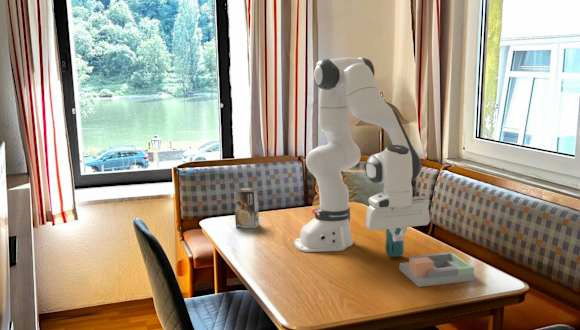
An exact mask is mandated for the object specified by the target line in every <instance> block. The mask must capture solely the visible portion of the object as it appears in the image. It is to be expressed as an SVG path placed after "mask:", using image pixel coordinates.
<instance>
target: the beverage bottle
mask: <svg viewBox="0 0 580 330" xmlns="http://www.w3.org/2000/svg"><path fill="white" fill-rule="evenodd" d="M385 231H386V232H385V233H386V235H385V253H386V255H388V257H402V256H403V255H404V251H405V246H404V245H405V242H404V241H405V238H404V237H405V235H404V236H403V241H397V242H394V241H393V235H392V234H391V232H390V231H389V229H385ZM400 232H401V229H400V228H396V232H395V234H396V235H399V234H400Z"/></svg>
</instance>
